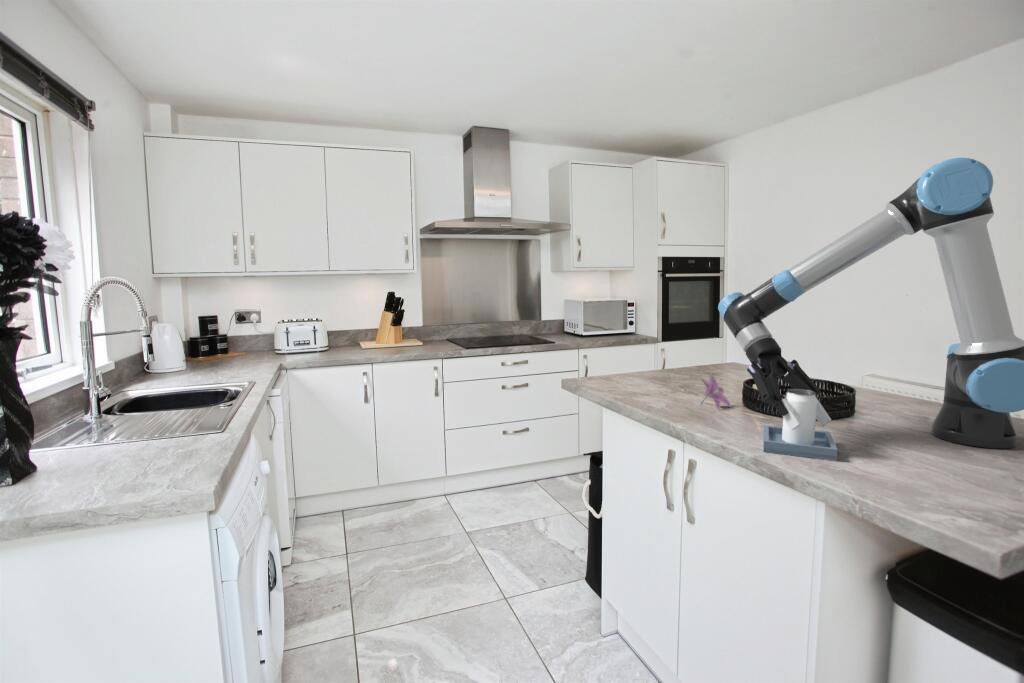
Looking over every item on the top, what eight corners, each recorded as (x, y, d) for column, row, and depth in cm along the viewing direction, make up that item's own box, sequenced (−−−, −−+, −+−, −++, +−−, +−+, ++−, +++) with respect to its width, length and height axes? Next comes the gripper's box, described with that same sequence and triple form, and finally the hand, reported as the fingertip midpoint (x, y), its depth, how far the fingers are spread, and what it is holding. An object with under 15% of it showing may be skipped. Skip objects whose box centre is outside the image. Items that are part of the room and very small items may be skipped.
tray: (829, 442, 121) (829, 432, 120) (836, 461, 108) (837, 449, 108) (763, 435, 127) (764, 425, 126) (763, 451, 114) (764, 441, 114)
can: (818, 448, 114) (822, 396, 112) (786, 446, 115) (790, 394, 113) (807, 438, 120) (811, 388, 118) (777, 436, 121) (781, 387, 119)
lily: (697, 415, 150) (715, 389, 146) (679, 392, 160) (695, 367, 157) (728, 423, 154) (746, 398, 150) (709, 400, 164) (725, 376, 161)
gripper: (782, 352, 133) (834, 428, 120) (716, 356, 126) (764, 438, 113) (800, 334, 127) (857, 412, 114) (733, 337, 121) (785, 420, 107)
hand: (811, 424), depth 114 cm, fingers open, 8 cm apart
